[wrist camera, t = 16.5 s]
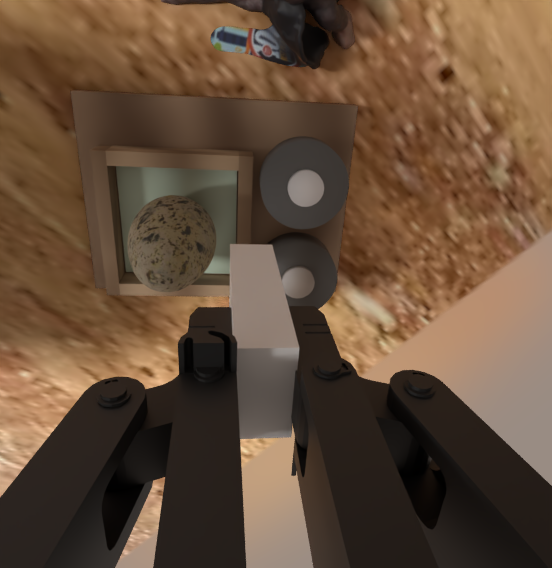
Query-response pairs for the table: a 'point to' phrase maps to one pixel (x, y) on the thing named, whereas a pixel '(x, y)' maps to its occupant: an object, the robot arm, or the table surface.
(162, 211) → the decorative egg
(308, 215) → the wheel
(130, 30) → the table surface
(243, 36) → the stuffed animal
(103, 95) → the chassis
